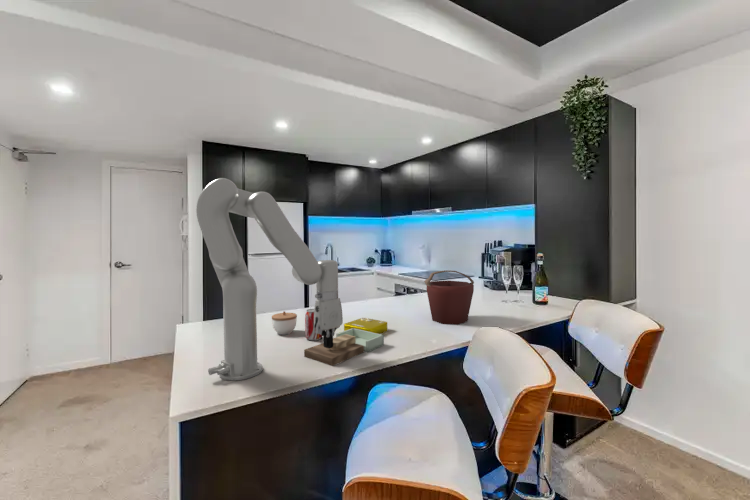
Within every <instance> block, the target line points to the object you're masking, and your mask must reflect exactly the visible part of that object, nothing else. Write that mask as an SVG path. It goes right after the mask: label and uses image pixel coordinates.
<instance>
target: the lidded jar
mask: <svg viewBox="0 0 750 500" xmlns="http://www.w3.org/2000/svg"><path fill="white" fill-rule="evenodd" d="M297 316H298V314H296V313H294V312H286V311H283V312H279V313H275V314H273V315H271V324H272V328H273V329H274V331H275V332H276V333H277V335H281V336H282V335H290V334H292V332H293V331H294V330H295V328H296V327H297V322H298V321H297Z"/></svg>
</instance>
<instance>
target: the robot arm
mask: <svg viewBox="0 0 750 500" xmlns="http://www.w3.org/2000/svg"><path fill="white" fill-rule="evenodd" d="M195 210H196V211H195V212H196V218H197V222H198V226H199V228H200V231H201V234H202V237H203V239H204V243H205V244H206V247H207V250H208V255H209V259H210V262H211V264H212V267H213V269H214V271H215V273H216V277H217V279H218V281H219V284H220V286H221V290H222V309H223V310H222V314H223V315H222V316H223V319H222V320H223V346H224V347H223V349H224V350H223V351H224V353H223V354H224V359H222V360H221V361H220V363H219V365H217V366H213V367H210V368H208V369H207V371H208V375H209V376H212V375H215V374H217V376H219V378H221V379H222V380H226V381H241V380H246V379H247V380H248V379H250V378H253V377H256V376H258V375H260V374H261V373H262V372H263V364H262V363H260V362H258V337H257V336H258V334H257V329H258V327H257V301H258V300H257V298H258V297H257V296H258V288H257V283H256V280H255V279H254V276H252V275H251V274H250V272H249V269H248V267H247V265H246V262H245V259H244V257H243V255H244V253H243V248H242V247H241V245H240V243H239V241H238V239H237V236H236V233H235V231H234V229H233V225H232V222H231V219H230V214H229V213H232V214H236V215H238V216H243V217H246V218H251V219H254V220H255V221H256V223H257V224H258V226H259V227H260V229H261V230H262V232H263V233H264V234H265V237H267V239H268V242H269V243H271V244H272V246H273V247H274V248H275V249H276V250H277V251H278V252H279V253H281V254H282V255H283V256H284V257H285V258H286V260H287V261H288V262H289V264H290V265H291V266H292V268H291V273H292V276H293V278H294V279H295V280H296V281H298V282H299V283H303V284H305V285H308V286H312V285H315V284H316V294H315V295H314V298H315V299H316V300H315V303H314V308H313V309H314V327H315V328H316V331H315V333H317V334H321V335H322V337H323V338H322V339H323V341H322V343H324V347H326V348H332V347H333V338H334V336H335V333H336V330H338V329H339V328H340V327H341V326H342V325H343V324H344V323H343V320H344V319H343V310H342V309H343V308H342V301H341V298H340V297H339V266H338V265H339V264H338V262H337V261H336V260H334V259H323V260H317V259H316V257H315V256H314V254H313V253H312V251H311V249H310V248H309V246H308V245H307V244H306V243H305V242H304V240H303V239H302V238H301V237H300V235H299V234H298V232H297V231H296V230H295V229H294V228H293V226H292V224H291V223H290V222H289V220H288V219H287V217H286V215H285V214H284V212H283V210H282V208H281V207H280V206H279V204H278V203H277V201H276V200H275V198H274V197H273V196H272V194H270V193H269V192H267V191H256V192H251V191H248V190H244V189H242V188H238V186H237V185H236V184H235V182H234V181H232V180H231V179H229V178H225V177H219V178H216V179H214V180H212V181H211V182H209V183H208V184H207V185H206V186H205V187H204V188H203V189H202V190H201V192H200V195H199V196H198V198H197V202H196V209H195Z"/></svg>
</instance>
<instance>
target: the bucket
mask: <svg viewBox="0 0 750 500" xmlns="http://www.w3.org/2000/svg"><path fill="white" fill-rule="evenodd" d="M448 272H449V273H456V274H458V275H459V274H460V275H461V276H463V277H466V278H467V279H468V280H469V281H470V282H469V281H462V280H461V281H459V280H433V277H434V276H435V275H438V274H440V273H441V274H443V273H448ZM423 282H424V284H425V285H426V294H427V299H428V303H429V310H430V316H431V321H433V322H435V323H438V324H441V325H457V326H458V325H461V324H464V323H467V322H468V320H469V315H470V309H471V306H472V299H473V295H474V289H475V288H474V287H475V285H474V284H475V281H474V280H473V279H472V278H471V277H470V276H469V275H467V274H465V273H463V272H459V271H457V270H449V269H448V270H438V271H433V272H431V273H430V274H429V276H428V277H427V278H426V279H425V280H424V281H423Z"/></svg>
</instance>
